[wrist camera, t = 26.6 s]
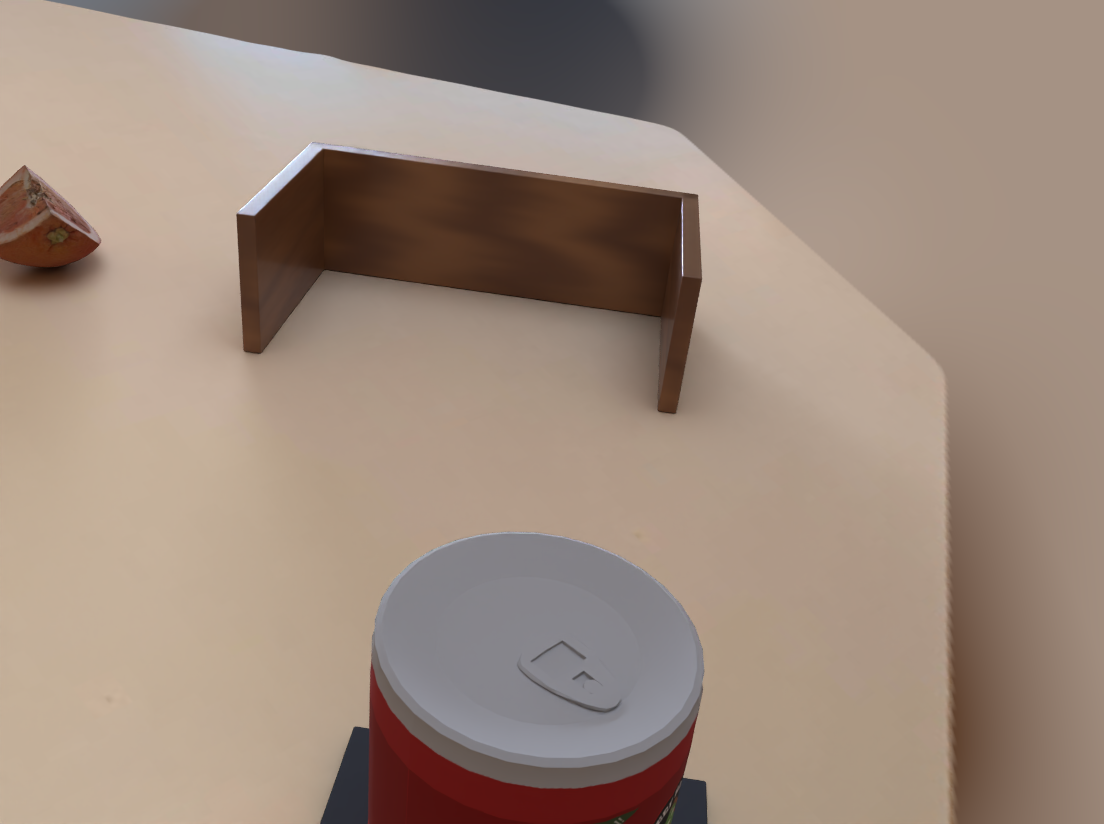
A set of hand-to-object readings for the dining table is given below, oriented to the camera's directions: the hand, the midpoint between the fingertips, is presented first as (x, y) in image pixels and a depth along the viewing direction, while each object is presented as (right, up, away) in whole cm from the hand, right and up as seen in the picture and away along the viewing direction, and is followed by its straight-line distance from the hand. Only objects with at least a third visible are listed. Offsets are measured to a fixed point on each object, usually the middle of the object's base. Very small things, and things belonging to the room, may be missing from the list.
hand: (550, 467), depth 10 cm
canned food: (-1, -14, +20) cm, 24 cm away
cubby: (-5, +5, +52) cm, 52 cm away
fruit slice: (-31, +9, +54) cm, 63 cm away
